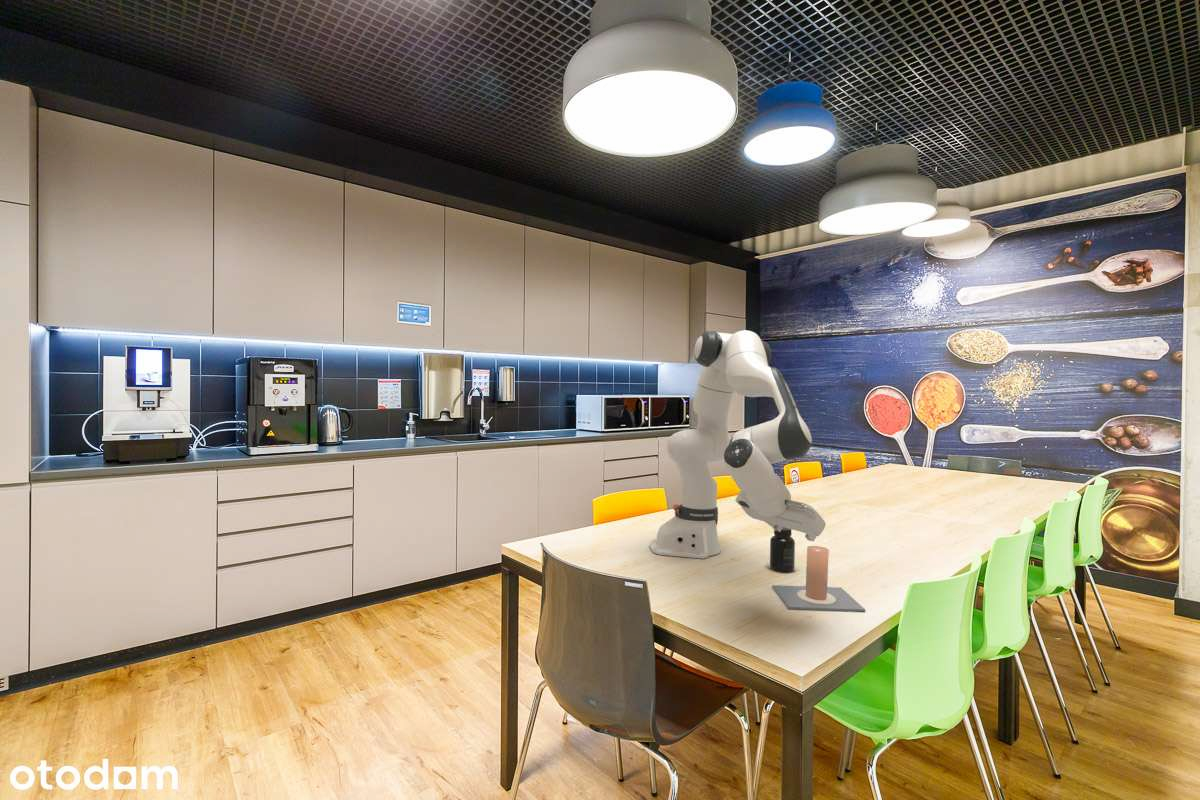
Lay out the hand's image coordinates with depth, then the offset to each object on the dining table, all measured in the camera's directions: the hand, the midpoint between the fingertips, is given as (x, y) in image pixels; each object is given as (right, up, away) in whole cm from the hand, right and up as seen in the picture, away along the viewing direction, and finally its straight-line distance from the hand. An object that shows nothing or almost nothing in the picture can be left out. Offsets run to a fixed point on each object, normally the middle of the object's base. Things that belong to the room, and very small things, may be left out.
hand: (795, 533), depth 131 cm
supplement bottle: (+6, -17, +28) cm, 33 cm away
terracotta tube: (+7, -17, +6) cm, 19 cm away
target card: (+7, -18, +6) cm, 20 cm away
